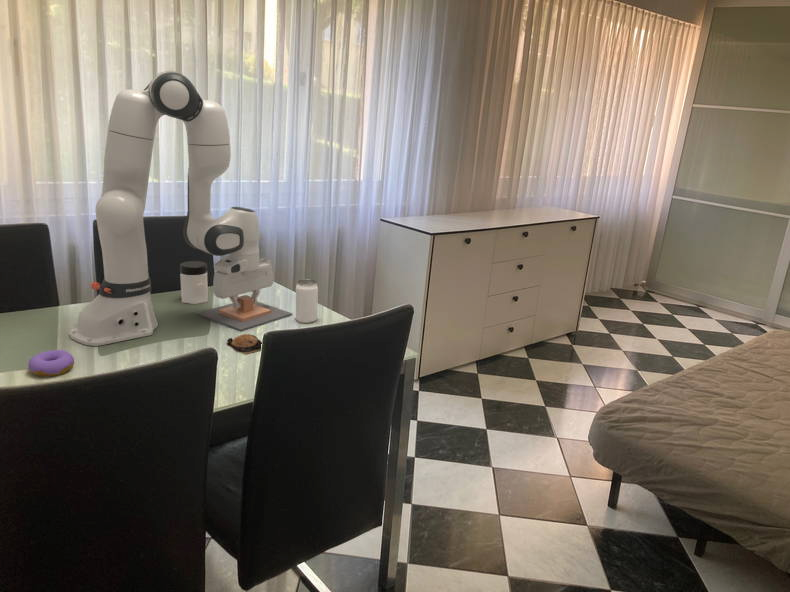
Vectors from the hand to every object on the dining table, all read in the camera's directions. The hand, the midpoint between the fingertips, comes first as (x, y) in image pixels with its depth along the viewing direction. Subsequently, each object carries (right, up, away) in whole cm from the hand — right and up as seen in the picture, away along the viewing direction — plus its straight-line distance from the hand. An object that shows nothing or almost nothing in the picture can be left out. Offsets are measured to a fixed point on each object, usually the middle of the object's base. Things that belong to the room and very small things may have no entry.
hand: (245, 305), depth 185 cm
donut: (-35, -15, -42) cm, 56 cm away
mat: (0, -3, +1) cm, 3 cm away
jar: (-19, +1, +12) cm, 22 cm away
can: (+19, -4, 0) cm, 19 cm away
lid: (0, -2, +1) cm, 2 cm away
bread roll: (+6, -11, -22) cm, 25 cm away
